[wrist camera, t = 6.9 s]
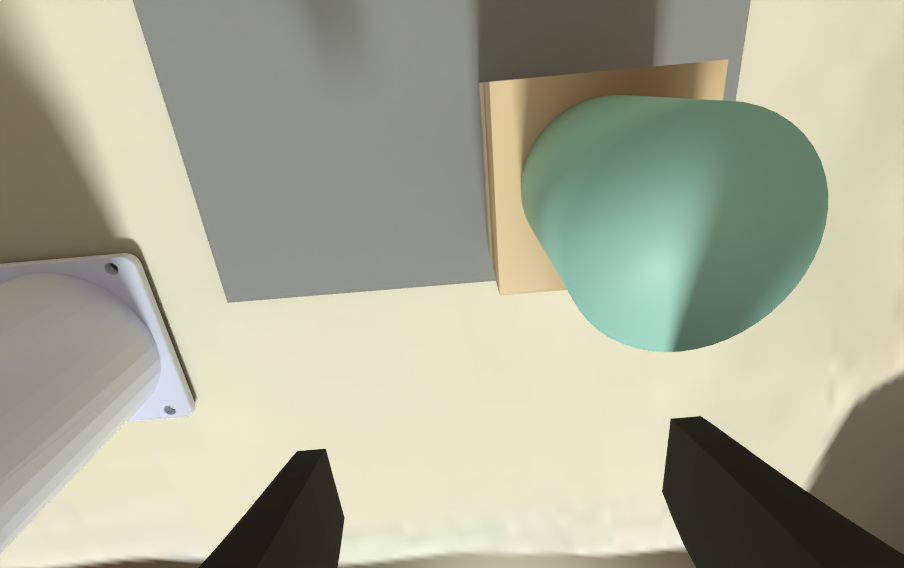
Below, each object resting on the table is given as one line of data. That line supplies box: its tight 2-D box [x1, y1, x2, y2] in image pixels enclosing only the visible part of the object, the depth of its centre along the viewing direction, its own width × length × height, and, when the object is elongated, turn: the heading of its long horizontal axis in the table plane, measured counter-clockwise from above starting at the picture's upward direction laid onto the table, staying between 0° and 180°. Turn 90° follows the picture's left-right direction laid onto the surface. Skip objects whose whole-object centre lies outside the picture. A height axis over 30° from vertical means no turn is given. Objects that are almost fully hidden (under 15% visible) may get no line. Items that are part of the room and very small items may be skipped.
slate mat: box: [133, 0, 751, 303], centre depth 16 cm, size 20×16×1 cm
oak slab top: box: [483, 59, 729, 295], centre depth 14 cm, size 6×6×2 cm
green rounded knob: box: [521, 95, 828, 352], centre depth 10 cm, size 5×5×5 cm
